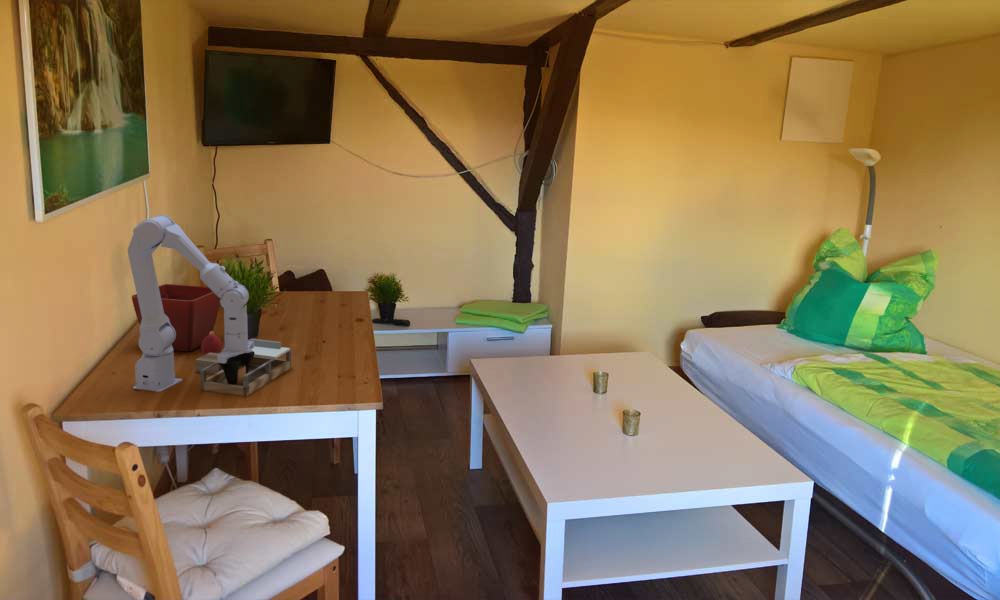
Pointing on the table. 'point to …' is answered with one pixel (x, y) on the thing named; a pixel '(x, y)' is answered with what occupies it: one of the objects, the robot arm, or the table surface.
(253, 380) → the cold frame
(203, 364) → the stand
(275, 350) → the lid
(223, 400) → the table surface
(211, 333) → the onion
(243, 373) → the pot
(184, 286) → the plant pot
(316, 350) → the table surface
